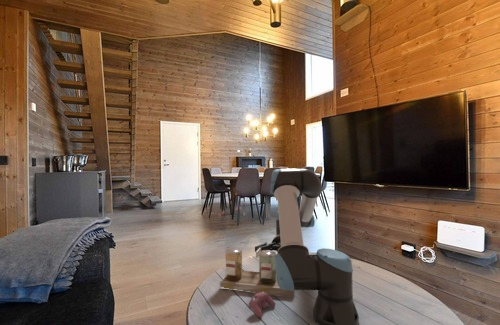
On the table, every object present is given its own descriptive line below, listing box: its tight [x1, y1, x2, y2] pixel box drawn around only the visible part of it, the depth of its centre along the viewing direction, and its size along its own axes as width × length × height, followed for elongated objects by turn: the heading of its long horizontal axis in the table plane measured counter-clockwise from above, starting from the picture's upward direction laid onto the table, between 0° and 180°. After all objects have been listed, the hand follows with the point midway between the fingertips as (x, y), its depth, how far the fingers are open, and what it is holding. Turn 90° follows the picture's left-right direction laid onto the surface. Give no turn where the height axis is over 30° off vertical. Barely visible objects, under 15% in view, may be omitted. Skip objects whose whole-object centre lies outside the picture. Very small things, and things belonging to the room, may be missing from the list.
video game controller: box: [249, 292, 276, 319], centre depth 95 cm, size 10×5×7 cm, turn 142°
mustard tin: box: [225, 247, 243, 281], centre depth 117 cm, size 8×8×12 cm
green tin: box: [258, 250, 277, 285], centre depth 113 cm, size 8×8×12 cm
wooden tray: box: [219, 270, 296, 298], centre depth 114 cm, size 16×32×3 cm, turn 76°
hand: (270, 256), depth 119 cm, fingers open, 13 cm apart
